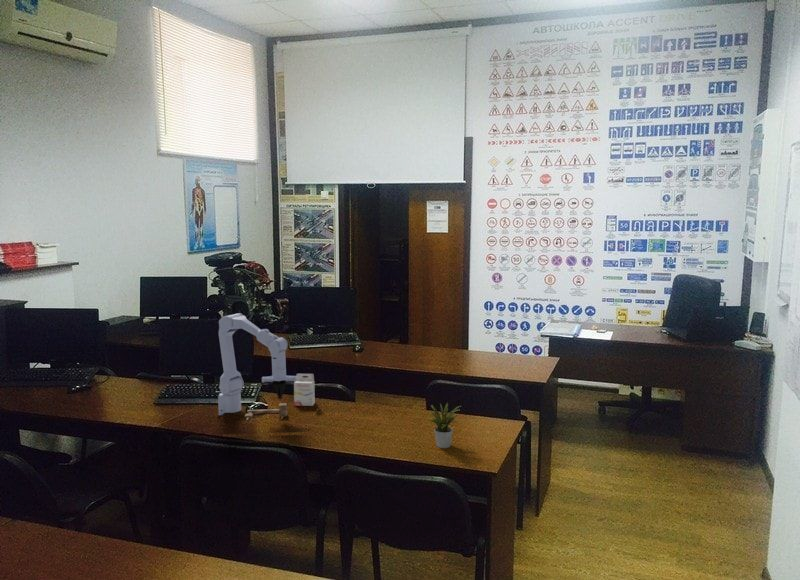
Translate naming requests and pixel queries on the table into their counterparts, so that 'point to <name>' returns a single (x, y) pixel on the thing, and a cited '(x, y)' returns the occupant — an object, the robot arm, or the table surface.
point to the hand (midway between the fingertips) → (280, 398)
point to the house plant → (443, 426)
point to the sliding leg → (282, 410)
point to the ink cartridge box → (304, 390)
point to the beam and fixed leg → (251, 412)
